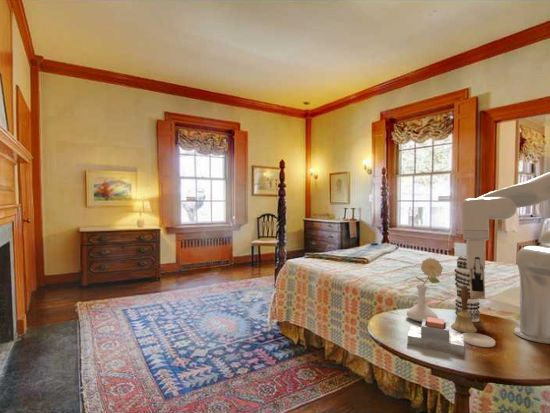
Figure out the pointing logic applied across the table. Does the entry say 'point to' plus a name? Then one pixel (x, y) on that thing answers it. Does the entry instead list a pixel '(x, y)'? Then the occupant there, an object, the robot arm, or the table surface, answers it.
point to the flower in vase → (421, 309)
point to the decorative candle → (464, 280)
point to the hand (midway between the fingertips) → (477, 288)
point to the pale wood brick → (476, 293)
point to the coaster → (478, 340)
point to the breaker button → (435, 322)
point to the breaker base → (436, 338)
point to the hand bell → (464, 315)
